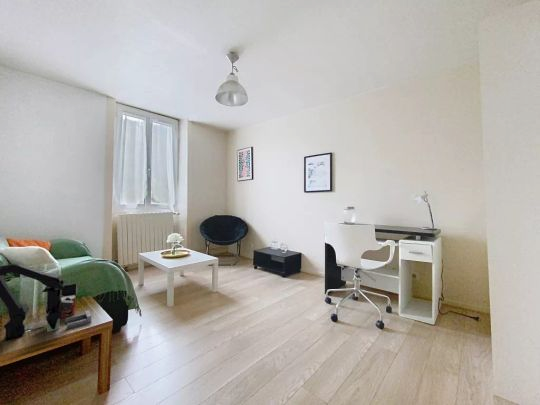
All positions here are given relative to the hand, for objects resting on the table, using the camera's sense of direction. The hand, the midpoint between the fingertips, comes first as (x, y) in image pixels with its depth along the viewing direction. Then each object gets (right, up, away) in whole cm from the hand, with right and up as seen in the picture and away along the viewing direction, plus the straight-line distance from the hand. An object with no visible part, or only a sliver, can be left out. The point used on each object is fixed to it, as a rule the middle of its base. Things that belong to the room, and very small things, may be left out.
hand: (53, 325), depth 133 cm
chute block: (0, -2, 0) cm, 2 cm away
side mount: (+8, -2, +6) cm, 10 cm away
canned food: (-5, -2, +16) cm, 17 cm away
